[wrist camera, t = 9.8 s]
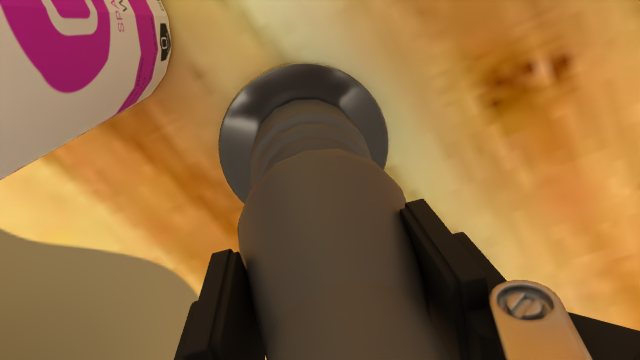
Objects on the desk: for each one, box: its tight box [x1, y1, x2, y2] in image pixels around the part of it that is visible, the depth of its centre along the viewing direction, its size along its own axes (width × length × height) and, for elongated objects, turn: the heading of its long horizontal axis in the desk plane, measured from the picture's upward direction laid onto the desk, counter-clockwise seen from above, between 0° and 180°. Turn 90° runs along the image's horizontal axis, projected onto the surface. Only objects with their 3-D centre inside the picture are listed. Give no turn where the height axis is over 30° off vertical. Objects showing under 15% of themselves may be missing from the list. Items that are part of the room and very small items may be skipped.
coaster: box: [219, 62, 388, 204], centre depth 23 cm, size 10×10×1 cm
